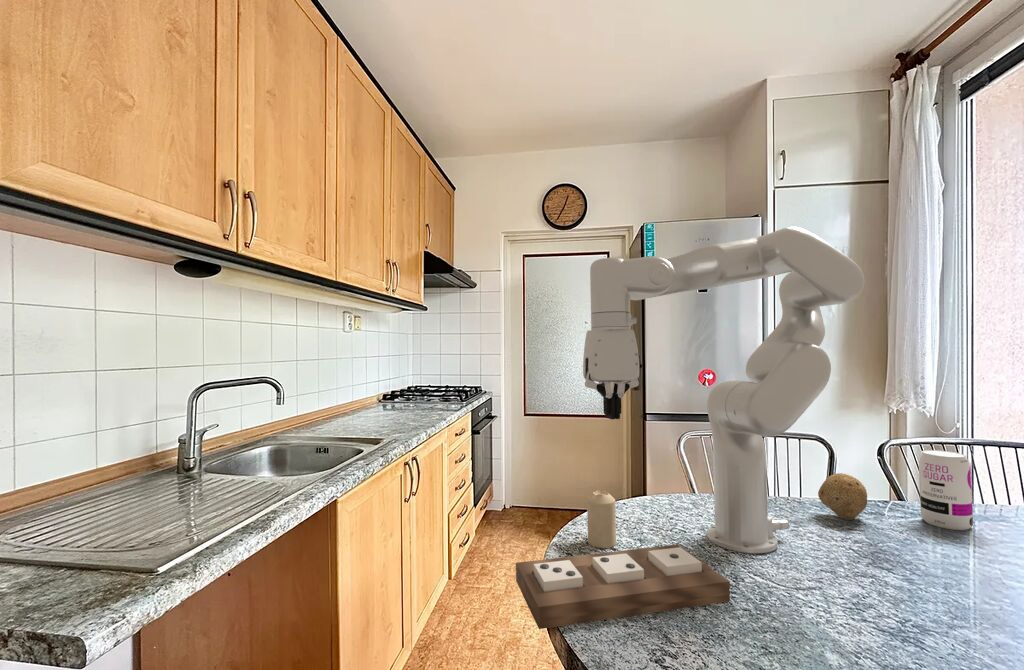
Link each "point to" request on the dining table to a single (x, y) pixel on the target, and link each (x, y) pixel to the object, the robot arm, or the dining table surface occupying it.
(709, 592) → the panel
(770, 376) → the robot arm
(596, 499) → the candle
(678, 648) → the dining table surface
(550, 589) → the tile three
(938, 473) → the supplement can
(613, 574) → the tile two
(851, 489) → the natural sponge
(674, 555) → the tile one
